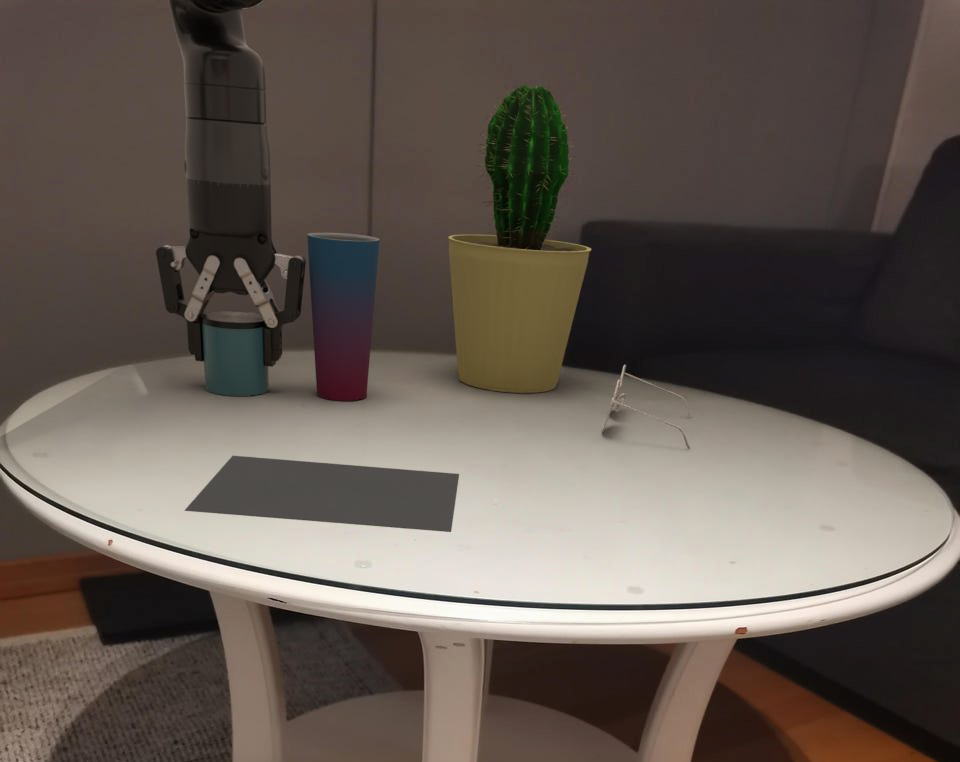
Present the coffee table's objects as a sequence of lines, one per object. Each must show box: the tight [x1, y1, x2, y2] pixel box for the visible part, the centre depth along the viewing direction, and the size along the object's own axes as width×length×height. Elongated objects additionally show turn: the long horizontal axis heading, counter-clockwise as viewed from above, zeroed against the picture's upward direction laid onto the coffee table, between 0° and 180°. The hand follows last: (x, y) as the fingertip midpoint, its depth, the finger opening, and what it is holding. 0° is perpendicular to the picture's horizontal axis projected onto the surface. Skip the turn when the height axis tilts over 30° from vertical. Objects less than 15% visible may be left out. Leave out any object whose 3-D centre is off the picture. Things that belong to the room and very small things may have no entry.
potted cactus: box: [447, 79, 592, 394], centre depth 104 cm, size 15×15×30 cm
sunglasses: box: [601, 364, 693, 450], centre depth 96 cm, size 14×8×5 cm, turn 168°
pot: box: [201, 310, 270, 397], centre depth 99 cm, size 6×11×7 cm, turn 179°
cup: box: [306, 232, 380, 402], centre depth 96 cm, size 7×7×15 cm
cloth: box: [184, 455, 460, 533], centre depth 71 cm, size 18×13×1 cm
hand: (235, 361), depth 97 cm, fingers closed on pot, 6 cm apart
